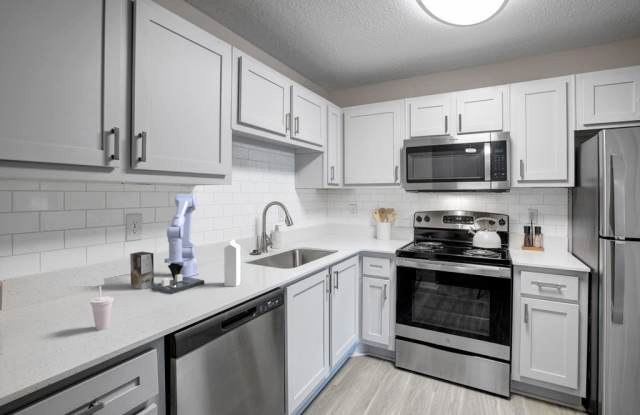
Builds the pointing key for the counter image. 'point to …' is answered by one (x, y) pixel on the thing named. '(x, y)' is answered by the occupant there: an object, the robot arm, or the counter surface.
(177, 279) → the block
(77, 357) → the counter surface
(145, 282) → the coffee box
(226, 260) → the milk
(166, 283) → the block
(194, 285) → the console
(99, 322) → the smoothie
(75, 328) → the counter surface
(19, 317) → the counter surface
